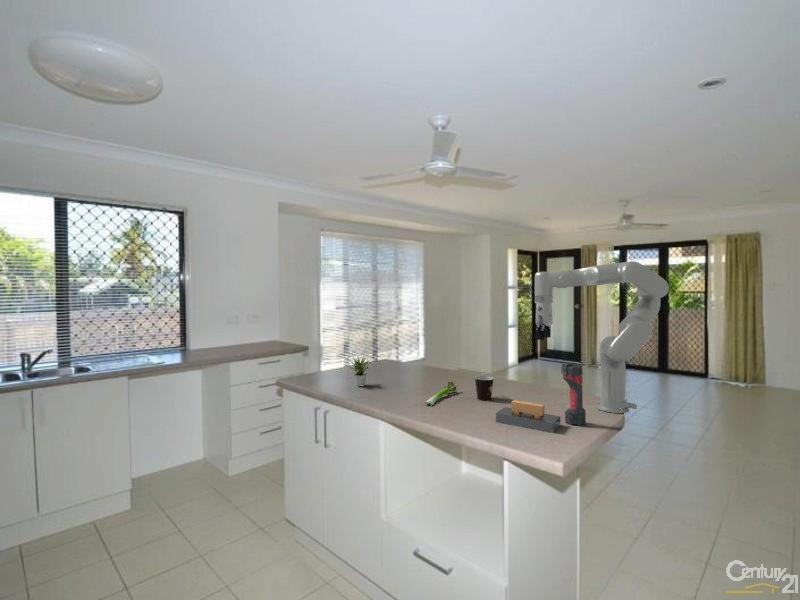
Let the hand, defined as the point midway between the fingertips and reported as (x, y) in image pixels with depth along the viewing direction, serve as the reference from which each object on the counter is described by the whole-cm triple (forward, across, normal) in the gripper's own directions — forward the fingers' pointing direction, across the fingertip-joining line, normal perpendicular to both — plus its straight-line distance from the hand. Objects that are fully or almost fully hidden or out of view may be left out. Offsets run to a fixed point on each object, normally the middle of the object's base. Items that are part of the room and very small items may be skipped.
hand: (543, 338), depth 185 cm
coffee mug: (+30, -2, +26) cm, 40 cm away
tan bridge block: (+30, -27, -2) cm, 41 cm away
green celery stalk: (+31, -13, +44) cm, 55 cm away
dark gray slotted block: (+30, -27, -2) cm, 40 cm away
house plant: (+30, -17, +92) cm, 98 cm away
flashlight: (+31, -17, -16) cm, 38 cm away
